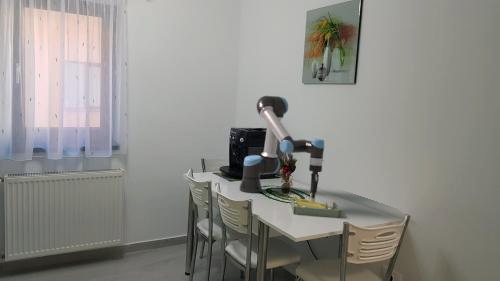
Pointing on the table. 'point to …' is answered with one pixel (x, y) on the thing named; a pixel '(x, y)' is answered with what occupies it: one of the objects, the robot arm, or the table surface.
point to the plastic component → (309, 203)
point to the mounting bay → (316, 210)
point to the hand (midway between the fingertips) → (312, 202)
